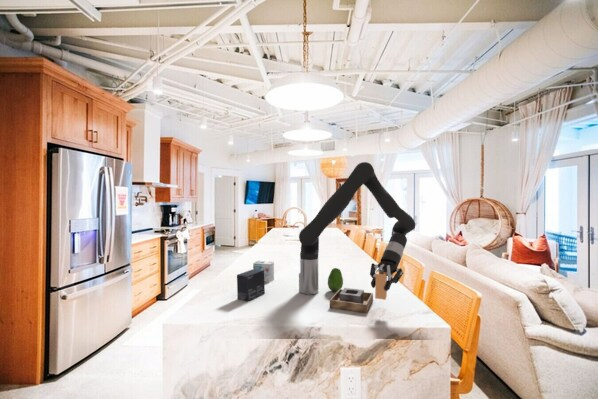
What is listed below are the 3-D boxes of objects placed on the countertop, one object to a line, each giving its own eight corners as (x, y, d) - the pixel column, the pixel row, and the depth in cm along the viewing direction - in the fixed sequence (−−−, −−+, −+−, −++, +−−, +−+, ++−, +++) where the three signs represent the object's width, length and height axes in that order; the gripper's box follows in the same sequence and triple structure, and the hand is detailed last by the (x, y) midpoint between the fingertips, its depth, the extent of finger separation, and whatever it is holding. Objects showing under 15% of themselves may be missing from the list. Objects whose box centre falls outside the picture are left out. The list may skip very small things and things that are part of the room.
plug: (375, 298, 119) (375, 269, 119) (376, 295, 123) (377, 267, 123) (385, 299, 118) (385, 271, 117) (386, 296, 121) (387, 268, 121)
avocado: (342, 294, 146) (342, 270, 146) (327, 293, 147) (326, 269, 147) (343, 289, 154) (343, 266, 154) (328, 288, 155) (328, 265, 155)
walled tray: (329, 307, 128) (329, 295, 128) (339, 296, 142) (339, 284, 142) (366, 313, 122) (366, 299, 121) (372, 300, 136) (372, 288, 136)
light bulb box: (252, 281, 169) (252, 262, 169) (257, 278, 175) (257, 260, 175) (270, 282, 166) (269, 264, 166) (274, 279, 172) (274, 261, 172)
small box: (254, 291, 151) (254, 268, 151) (265, 293, 147) (264, 270, 147) (236, 299, 140) (236, 274, 139) (247, 302, 136) (247, 276, 136)
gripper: (374, 247, 130) (360, 279, 122) (406, 251, 120) (392, 287, 112) (380, 257, 134) (366, 289, 126) (411, 262, 124) (398, 297, 116)
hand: (379, 288), depth 119 cm, fingers closed on plug, 5 cm apart
